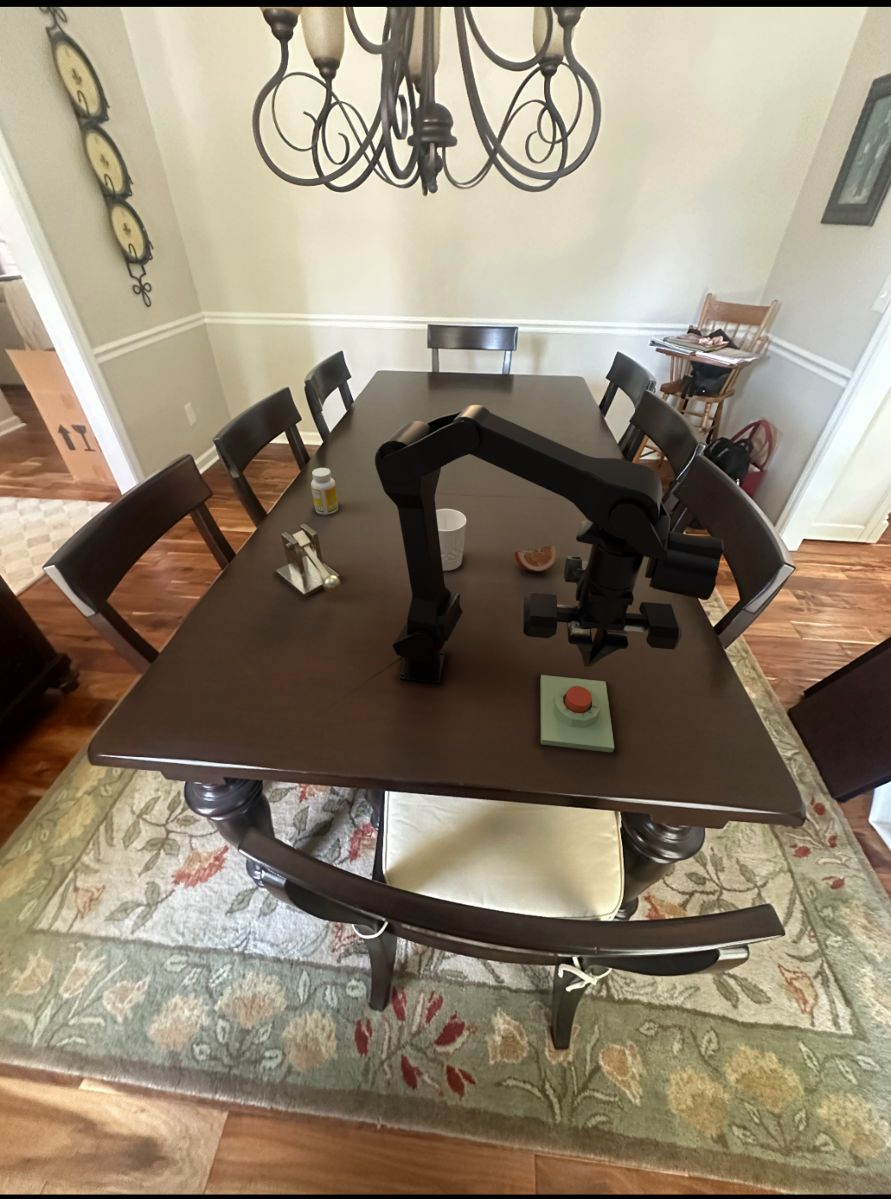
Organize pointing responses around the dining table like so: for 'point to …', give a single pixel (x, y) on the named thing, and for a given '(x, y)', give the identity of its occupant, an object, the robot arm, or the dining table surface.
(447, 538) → the white cup
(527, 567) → the fruit slice
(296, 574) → the bracket
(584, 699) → the button
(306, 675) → the dining table surface
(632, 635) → the dining table surface
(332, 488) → the supplement bottle
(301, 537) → the lever
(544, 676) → the switchbox
